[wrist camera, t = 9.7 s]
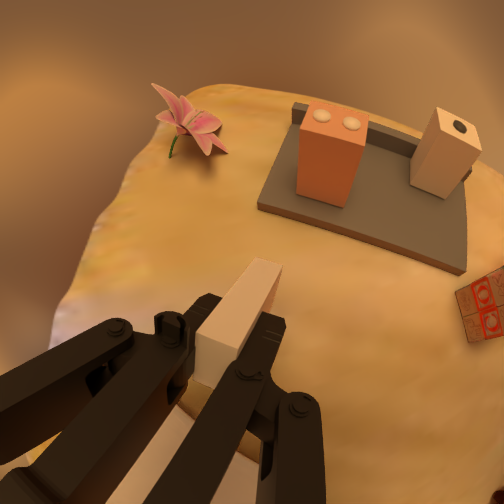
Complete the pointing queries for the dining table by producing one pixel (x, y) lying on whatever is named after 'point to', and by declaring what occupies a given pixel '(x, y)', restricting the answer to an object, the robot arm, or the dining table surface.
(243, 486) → the salad plate
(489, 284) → the stack of blocks
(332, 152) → the key two
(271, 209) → the tray
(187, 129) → the lily
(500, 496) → the decorative lantern
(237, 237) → the dining table surface
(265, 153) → the dining table surface
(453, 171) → the key one
